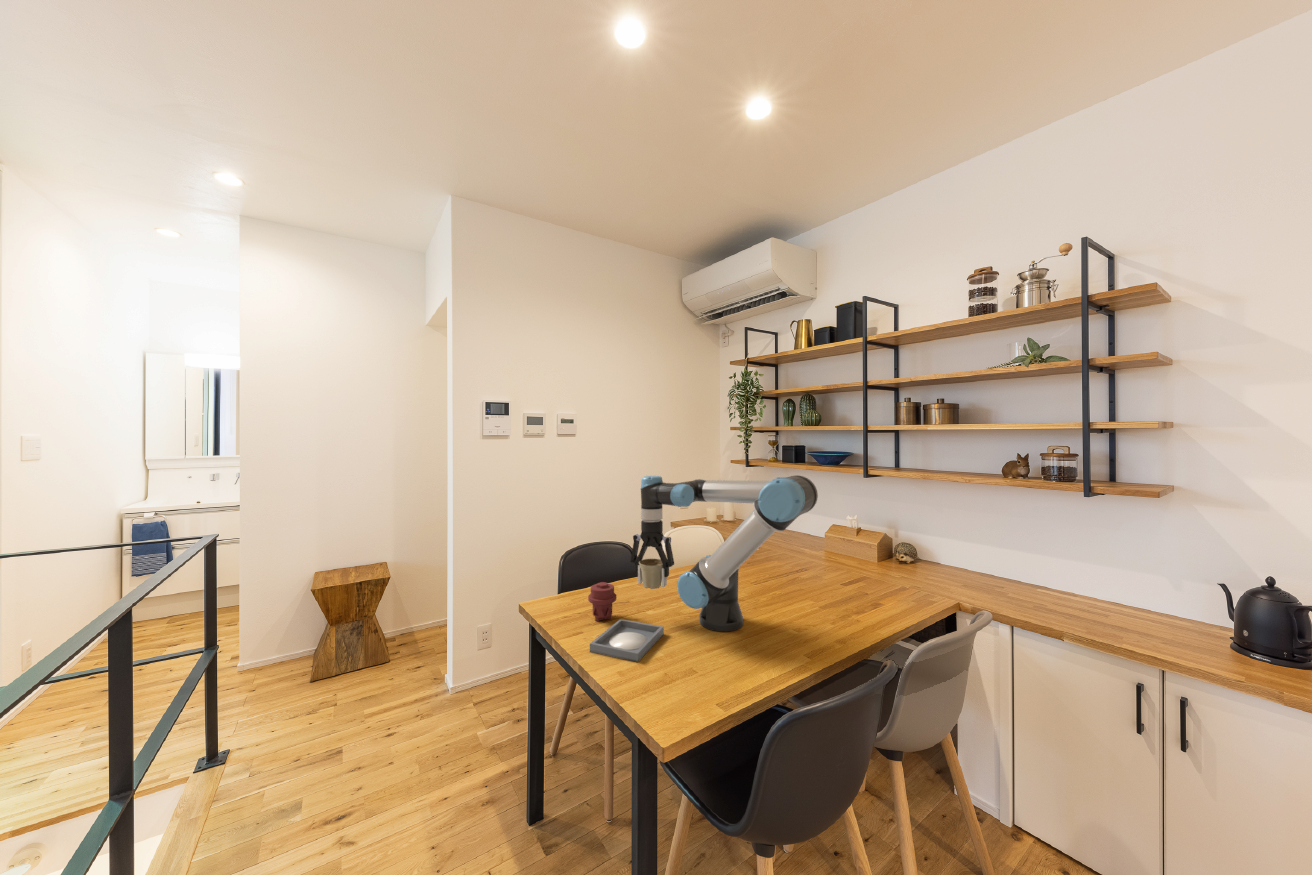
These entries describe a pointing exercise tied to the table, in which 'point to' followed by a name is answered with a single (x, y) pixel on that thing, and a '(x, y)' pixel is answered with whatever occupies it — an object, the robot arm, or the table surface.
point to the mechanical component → (602, 600)
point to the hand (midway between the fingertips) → (652, 584)
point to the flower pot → (651, 572)
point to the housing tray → (627, 640)
